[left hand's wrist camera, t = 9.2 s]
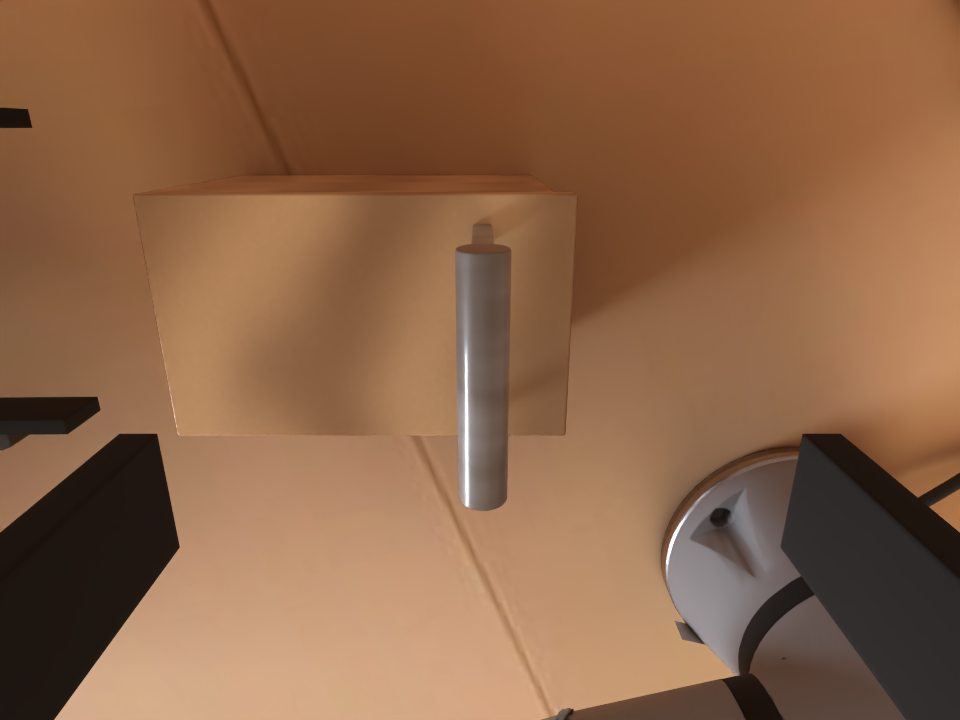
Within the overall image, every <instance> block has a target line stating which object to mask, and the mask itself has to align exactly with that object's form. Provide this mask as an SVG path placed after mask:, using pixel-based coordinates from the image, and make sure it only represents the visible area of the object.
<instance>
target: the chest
mask: <svg viewBox="0 0 960 720" xmlns="http://www.w3.org/2000/svg"><path fill="white" fill-rule="evenodd" d="M149 192H553V191H552V190H551V189H549V188H548V187H547V186H545V185H544V184H543V183H542V182H540V181H539V180H538V179H536V178H535V177H534V176H533V175H242V176H237V177H231V178H225V179H219V180H213V181H207V182H202V183H196V184H190V185H184V186H178V187H172V188H167V189H161V190H155V191H149Z"/></svg>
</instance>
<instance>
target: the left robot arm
mask: <svg viewBox="0 0 960 720" xmlns="http://www.w3.org/2000/svg"><path fill="white" fill-rule="evenodd" d="M958 489H960V473H959V474H957V475H955V476H954V477H952V478H950V479H949V480H947V481H946V482H944V483H942V484H940V485H939V486H937V487H935V488H934V489H932V490H930V491H929V492H927V493H925V494H923V495H922V496H920V497H918V498H917V497H916V496H915V495H914V494H912V493H911V492H910V491H909V490H908V489H906V488H905V487H904V486H903V485H902V484H900V483H899V482H898V481H897V480H896V479H894V478H893V477H892V476H891V475H890V474H888V473H887V472H886V471H885V470H883V469H882V468H881V467H880V466H879V465H877V464H876V463H875V462H874V461H873V460H871V459H870V458H869V457H868V456H867V455H865V454H864V453H863V452H862V451H861V450H859V449H858V448H857V447H856V446H855V445H853V444H852V443H851V442H850V441H849V440H847V439H846V438H845V437H844V436H842V435H841V434H803V436H802V441H801V446H800V447H790V448H778V449H771V450H766V451H762V452H758V453H755V454H751V455H748V456H745V457H743V458H740V459H738V460H735V461H733V462H731V463H729V464H727V465H725V466H724V467H722V468H720V469H719V470H717V471H715V472H714V473H712V474H711V475H710V476H708V477H707V478H705V479H704V480H703V481H702V482H701V483H699V484H698V485H697V486H696V487H695V488H694V489H693V490H692V491H691V492H690V493H689V494H688V495H687V496H686V498H685V499H684V500H683V501H682V502H681V504H680V505H679V507H678V508H677V510H676V511H675V513H674V515H673V516H672V518H671V520H670V522H669V525H668V527H667V529H666V532H665V536H664V539H663V544H662V550H661V568H662V574H663V578H664V581H665V584H666V587H667V589H668V592H669V594H670V597H671V599H672V601H673V604H674V606H675V608H676V609H677V611H678V613H679V614H680V616H681V617H682V618H683V620H684V621H685V623H686V624H685V623H681V622H676V621H675V622H676V625H677V627H678V630H679V632H680V635H681V637H682V639H683V640H688V641H692V642H697V643H701V644H706V645H707V646H708V648H709V649H710V650H711V651H712V652H713V653H714V654H715V655H716V656H717V657H718V658H719V659H720V660H721V661H722V662H723V663H724V664H725V665H726V666H727V667H728V668H729V669H730V670H731V671H732V672H733V673H734V674H735V675H736V676H734V677H730V678H725V679H718V680H714V681H709V682H705V683H700V684H696V685H691V686H687V687H682V688H677V689H673V690H668V691H664V692H659V693H655V694H650V695H645V696H641V697H636V698H632V699H627V700H623V701H618V702H614V703H609V704H604V705H600V706H595V707H591V708H586V709H582V710H577V711H574V710H573V709H570V708H567V709H562V710H561V711H560V712H559V713H558V715H557V716H553V717H549V718H546V719H542V720H960V533H959V532H958V531H957V530H956V529H955V528H953V527H952V526H951V525H950V524H949V523H947V522H946V521H945V520H944V519H943V518H941V517H940V516H939V515H938V514H937V513H935V512H934V511H933V510H932V509H931V508H929V507H930V506H931V505H933V504H935V503H936V502H938V501H940V500H941V499H943V498H945V497H947V496H948V495H950V494H952V493H953V492H955V491H957V490H958ZM179 548H180V546H179V541H178V536H177V531H176V526H175V521H174V516H173V511H172V506H171V501H170V496H169V491H168V486H167V481H166V476H165V471H164V466H163V461H162V456H161V451H160V446H159V441H158V436H157V434H119V435H118V436H116V437H115V438H114V439H113V440H111V441H110V442H109V443H108V444H107V445H105V446H104V447H103V448H102V449H101V450H99V451H98V452H97V453H96V454H95V455H93V456H92V457H91V458H90V459H89V460H87V461H86V462H85V463H84V464H83V465H81V466H80V467H79V468H78V469H77V470H75V471H74V472H73V473H72V474H70V475H69V476H68V477H67V478H66V479H64V480H63V481H62V482H61V483H60V484H58V485H57V486H56V487H55V488H54V489H52V490H51V491H50V492H49V493H48V494H46V495H45V496H44V497H43V498H42V499H40V500H39V501H38V502H37V503H35V504H34V505H33V506H32V507H31V508H29V509H28V510H27V511H26V512H25V513H23V514H22V515H21V516H20V517H19V518H17V519H16V520H15V521H14V522H13V523H11V524H10V525H9V526H8V527H7V528H5V529H4V530H3V531H2V532H1V533H0V720H54V719H55V718H56V716H57V715H58V714H59V712H60V711H61V710H62V708H63V707H64V705H65V704H66V703H67V701H68V700H69V699H70V697H71V696H72V694H73V693H74V692H75V690H76V689H77V688H78V686H79V685H80V683H81V682H82V681H83V679H84V678H85V677H86V675H87V674H88V672H89V671H90V670H91V668H92V667H93V666H94V664H95V663H96V662H97V660H98V659H99V657H100V656H101V655H102V653H103V652H104V651H105V649H106V648H107V646H108V645H109V644H110V642H111V641H112V640H113V638H114V637H115V635H116V634H117V633H118V631H119V630H120V629H121V627H122V626H123V624H124V623H125V622H126V620H127V619H128V618H129V616H130V615H131V613H132V612H133V611H134V609H135V608H136V607H137V605H138V604H139V602H140V601H141V600H142V598H143V597H144V596H145V594H146V593H147V591H148V590H149V589H150V587H151V586H152V585H153V583H154V582H155V581H156V579H157V578H158V576H159V575H160V574H161V572H162V571H163V570H164V568H165V567H166V565H167V564H168V563H169V561H170V560H171V559H172V557H173V556H174V554H175V553H176V552H177V550H178V549H179Z"/></svg>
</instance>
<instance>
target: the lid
mask: <svg viewBox="0 0 960 720" xmlns="http://www.w3.org/2000/svg"><path fill="white" fill-rule="evenodd" d="M133 198H134V204H135V209H136V214H137V220H138V225H139V231H140V236H141V241H142V247H143V252H144V257H145V263H146V268H147V273H148V279H149V284H150V289H151V295H152V300H153V306H154V311H155V316H156V322H157V327H158V332H159V338H160V343H161V348H162V354H163V359H164V364H165V370H166V375H167V381H168V386H169V391H170V397H171V402H172V407H173V413H174V418H175V423H176V429H177V434H178V435H179V436H232V435H458V496H459V500H460V502H461V503H462V504H463V505H464V506H465V507H467V508H470V509H473V510H478V511H488V510H493V509H496V508H499V507H500V506H502V505H503V504H504V503H505V501H506V500H507V479H508V435H565V432H566V413H567V394H568V375H569V356H570V337H571V318H572V299H573V280H574V261H575V242H576V223H577V204H578V195H577V194H576V193H574V192H143V193H137V194H134V195H133Z"/></svg>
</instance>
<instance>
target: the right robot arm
mask: <svg viewBox="0 0 960 720" xmlns="http://www.w3.org/2000/svg"><path fill="white" fill-rule="evenodd" d="M0 128H32V125H31V121H30V116H29V112H28V109H13V108H0ZM99 411H100V406H99V402H98V398H97V397H26V398H0V450H4V449H6V448H9V447H11V446H13V445H14V444H16V443H17V442H19V441H20V440H22V439H23V438H25V437H26V436H28V435H29V434H68V433H70V432H71V431H73V430H74V429H75V428H77V427H78V426H79V425H81V424H82V423H84V422H85V421H86V420H88V419H89V418H90V417H92V416H93V415H95V414H96V413H97V412H99Z"/></svg>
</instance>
